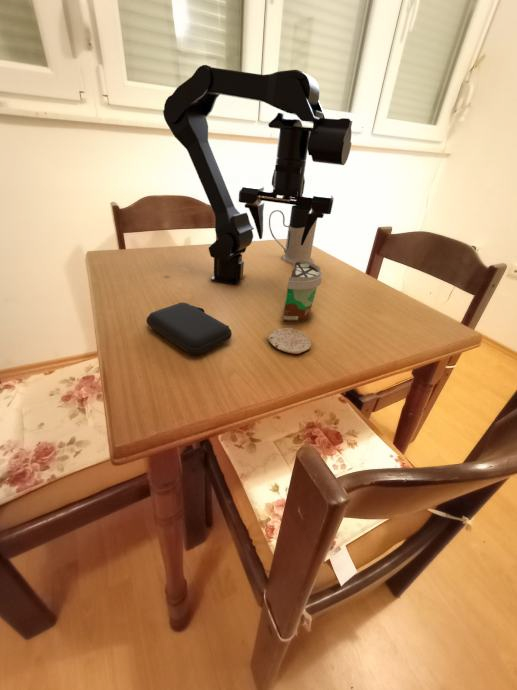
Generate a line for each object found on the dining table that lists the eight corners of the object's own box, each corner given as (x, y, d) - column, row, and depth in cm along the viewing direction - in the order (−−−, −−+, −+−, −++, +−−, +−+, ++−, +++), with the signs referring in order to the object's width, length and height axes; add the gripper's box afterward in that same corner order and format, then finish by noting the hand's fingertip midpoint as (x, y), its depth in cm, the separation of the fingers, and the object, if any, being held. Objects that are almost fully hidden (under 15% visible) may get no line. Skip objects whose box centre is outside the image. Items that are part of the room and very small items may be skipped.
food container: (312, 331, 61) (322, 283, 55) (281, 325, 62) (288, 278, 56) (315, 304, 71) (324, 261, 65) (289, 300, 72) (295, 257, 66)
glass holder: (312, 265, 93) (322, 212, 84) (265, 261, 92) (270, 207, 84) (309, 256, 100) (317, 206, 92) (265, 252, 100) (270, 201, 91)
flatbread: (262, 334, 58) (262, 329, 58) (297, 328, 61) (298, 324, 60) (280, 359, 52) (281, 354, 52) (319, 352, 55) (320, 347, 54)
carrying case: (240, 338, 56) (189, 309, 64) (241, 324, 55) (189, 295, 62) (193, 362, 50) (142, 326, 57) (193, 347, 48) (140, 312, 55)
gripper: (341, 162, 65) (326, 239, 73) (254, 153, 67) (249, 227, 76) (340, 165, 55) (322, 252, 64) (239, 154, 58) (236, 238, 67)
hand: (281, 241), depth 68 cm, fingers open, 9 cm apart
